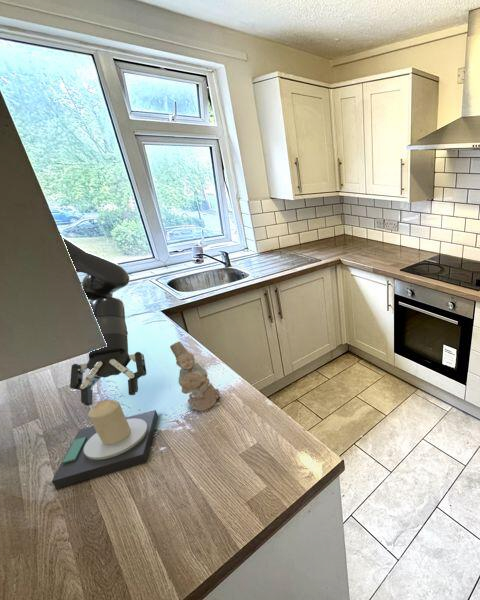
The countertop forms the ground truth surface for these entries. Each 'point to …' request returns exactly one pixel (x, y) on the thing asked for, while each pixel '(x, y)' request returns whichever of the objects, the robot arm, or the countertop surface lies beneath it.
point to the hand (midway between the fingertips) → (110, 399)
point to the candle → (109, 421)
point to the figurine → (194, 379)
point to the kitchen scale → (106, 451)
